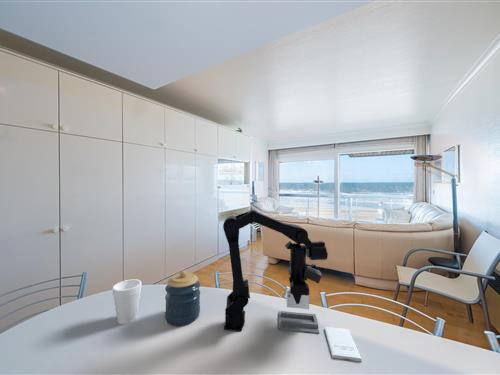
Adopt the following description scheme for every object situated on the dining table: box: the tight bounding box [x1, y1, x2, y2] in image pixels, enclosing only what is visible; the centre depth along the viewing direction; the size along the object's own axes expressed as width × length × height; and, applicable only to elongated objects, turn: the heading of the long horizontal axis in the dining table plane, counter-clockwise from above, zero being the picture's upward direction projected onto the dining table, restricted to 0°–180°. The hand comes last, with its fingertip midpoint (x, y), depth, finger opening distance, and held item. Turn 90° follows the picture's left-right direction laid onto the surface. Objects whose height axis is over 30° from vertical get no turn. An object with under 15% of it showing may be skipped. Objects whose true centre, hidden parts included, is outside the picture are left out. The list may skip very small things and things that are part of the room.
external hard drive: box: [323, 326, 362, 362], centre depth 67 cm, size 2×8×12 cm
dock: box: [278, 310, 320, 334], centre depth 78 cm, size 14×10×2 cm
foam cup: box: [112, 278, 143, 325], centre depth 79 cm, size 10×9×13 cm
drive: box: [286, 290, 310, 310], centre depth 78 cm, size 8×2×5 cm, turn 82°
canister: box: [164, 270, 201, 327], centre depth 81 cm, size 13×13×18 cm
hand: (297, 301), depth 78 cm, fingers closed on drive, 2 cm apart
